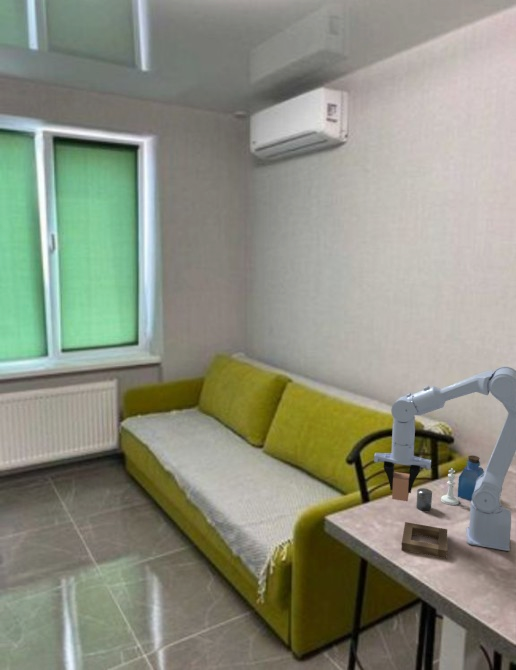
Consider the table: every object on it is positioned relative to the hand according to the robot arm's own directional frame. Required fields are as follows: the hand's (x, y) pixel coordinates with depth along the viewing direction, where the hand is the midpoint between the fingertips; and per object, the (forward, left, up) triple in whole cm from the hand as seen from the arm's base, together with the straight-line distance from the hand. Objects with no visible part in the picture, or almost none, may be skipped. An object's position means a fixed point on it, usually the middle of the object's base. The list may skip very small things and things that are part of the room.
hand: (400, 490), depth 140 cm
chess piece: (-13, -16, -9) cm, 22 cm away
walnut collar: (-7, +10, -8) cm, 15 cm away
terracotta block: (0, 0, -2) cm, 2 cm away
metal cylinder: (-6, -9, -8) cm, 14 cm away
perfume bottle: (-19, -22, -9) cm, 30 cm away
